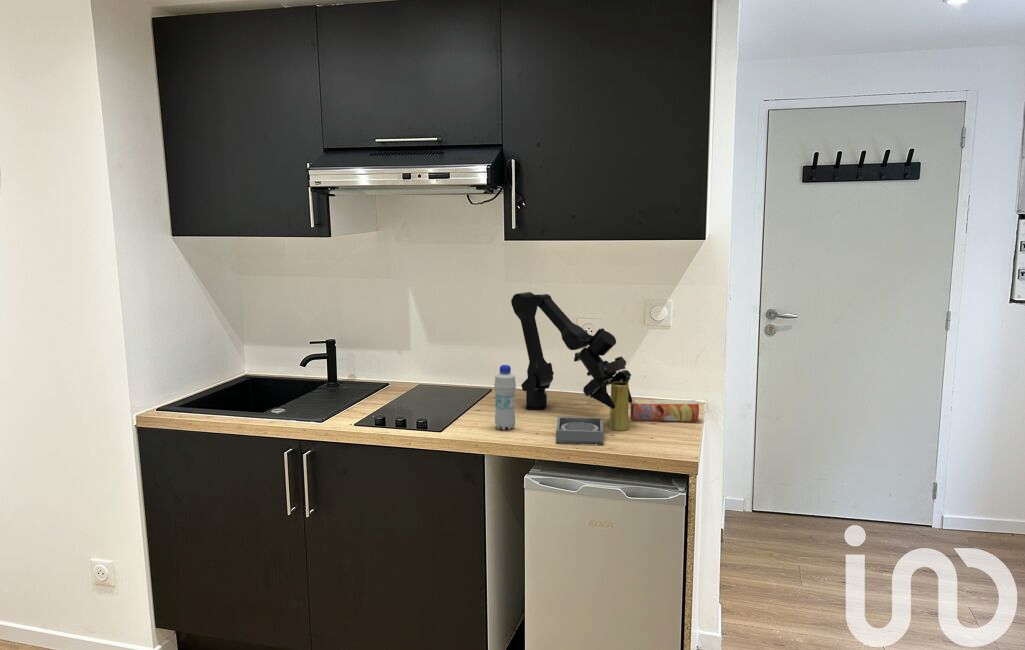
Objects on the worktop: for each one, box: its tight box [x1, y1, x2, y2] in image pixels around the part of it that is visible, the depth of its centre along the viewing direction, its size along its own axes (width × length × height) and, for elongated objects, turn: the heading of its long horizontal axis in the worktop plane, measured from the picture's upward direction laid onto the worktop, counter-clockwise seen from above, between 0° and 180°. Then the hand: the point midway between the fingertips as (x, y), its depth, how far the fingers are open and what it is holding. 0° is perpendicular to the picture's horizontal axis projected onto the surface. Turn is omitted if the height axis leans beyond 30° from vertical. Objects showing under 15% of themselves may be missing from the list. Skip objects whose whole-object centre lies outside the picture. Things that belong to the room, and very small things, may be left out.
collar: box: [561, 422, 598, 431], centre depth 224 cm, size 11×11×2 cm
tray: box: [555, 416, 604, 446], centre depth 224 cm, size 14×14×4 cm
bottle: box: [493, 364, 517, 431], centre depth 231 cm, size 7×7×20 cm
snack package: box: [630, 399, 700, 423], centre depth 242 cm, size 21×7×7 cm, turn 84°
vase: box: [608, 382, 630, 432], centre depth 232 cm, size 6×6×14 cm
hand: (622, 404), depth 231 cm, fingers open, 9 cm apart
